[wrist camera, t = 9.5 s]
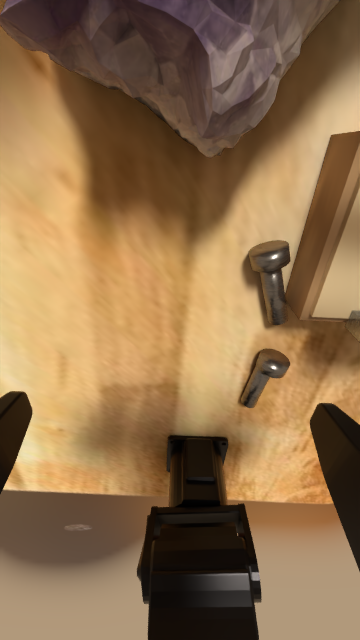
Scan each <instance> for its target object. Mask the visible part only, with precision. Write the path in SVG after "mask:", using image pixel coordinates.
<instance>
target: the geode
mask: <svg viewBox="0 0 360 640" xmlns="http://www.w3.org/2000/svg"><path fill="white" fill-rule="evenodd" d="M339 1H340V0H6V3H5V5H4V8H3V10H2V12H1V14H0V25H1V26H2V28H3V29H4V30H5V31H6V33H7V34H8V35H9V36H11V37H12V38H13V39H14V40H15V41H17V42H18V43H19V44H20V45H21V46H23V47H24V48H25V49H28V50H31V51H42V52H45V53H47V54H48V55H49V57H50V59H51V60H53V61H55V62H56V63H58V64H60V65H61V66H63V67H65V68H66V69H68V70H69V71H74V72H76V73H78V74H80V75H82V76H84V77H87V78H89V79H91V80H93V81H95V82H97V83H99V84H101V85H103V86H105V87H107V88H109V89H119V90H121V91H123V92H124V93H126V94H127V95H129V96H131V97H132V98H134V99H136V100H138V101H140V102H141V103H143V104H145V105H146V106H147V107H148V108H150V109H151V110H152V111H153V112H154V113H155V114H156V115H157V116H158V117H160V118H161V119H162V120H164V121H165V122H166V123H167V124H168V125H169V126H170V127H171V128H172V129H173V130H174V131H175V132H176V133H177V134H178V135H179V136H180V137H182V138H183V139H184V140H185V141H187V142H188V143H190V144H192V145H194V146H196V147H197V148H198V150H199V151H200V152H201V153H202V154H204V155H205V156H206V157H209V158H211V157H213V156H215V155H221V153H222V151H223V149H224V148H225V147H228V148H234V146H235V145H236V144H237V142H238V141H239V139H240V138H241V136H242V135H244V134H245V133H247V132H249V131H250V130H252V129H253V128H255V127H256V126H257V124H258V123H259V122H260V121H261V120H262V119H263V117H264V116H265V115H266V113H267V112H268V110H269V109H270V107H271V106H272V104H273V102H274V101H275V97H276V93H277V89H278V85H279V81H280V80H281V78H283V76H284V75H285V74H286V72H287V71H288V69H289V68H290V67H291V65H292V64H293V63H294V61H295V60H296V59H297V57H298V56H299V55H300V48H301V45H302V43H303V42H304V40H306V39H307V38H308V36H309V35H310V33H311V32H312V31H313V30H314V29H315V27H316V26H317V25H318V24H319V23H320V22H321V21H322V20H323V19H324V17H325V16H326V15H327V14H328V13H329V12H330V11H331V10H332V9H333V8H334V7H335V6H336V4H337V3H338V2H339Z"/></svg>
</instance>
